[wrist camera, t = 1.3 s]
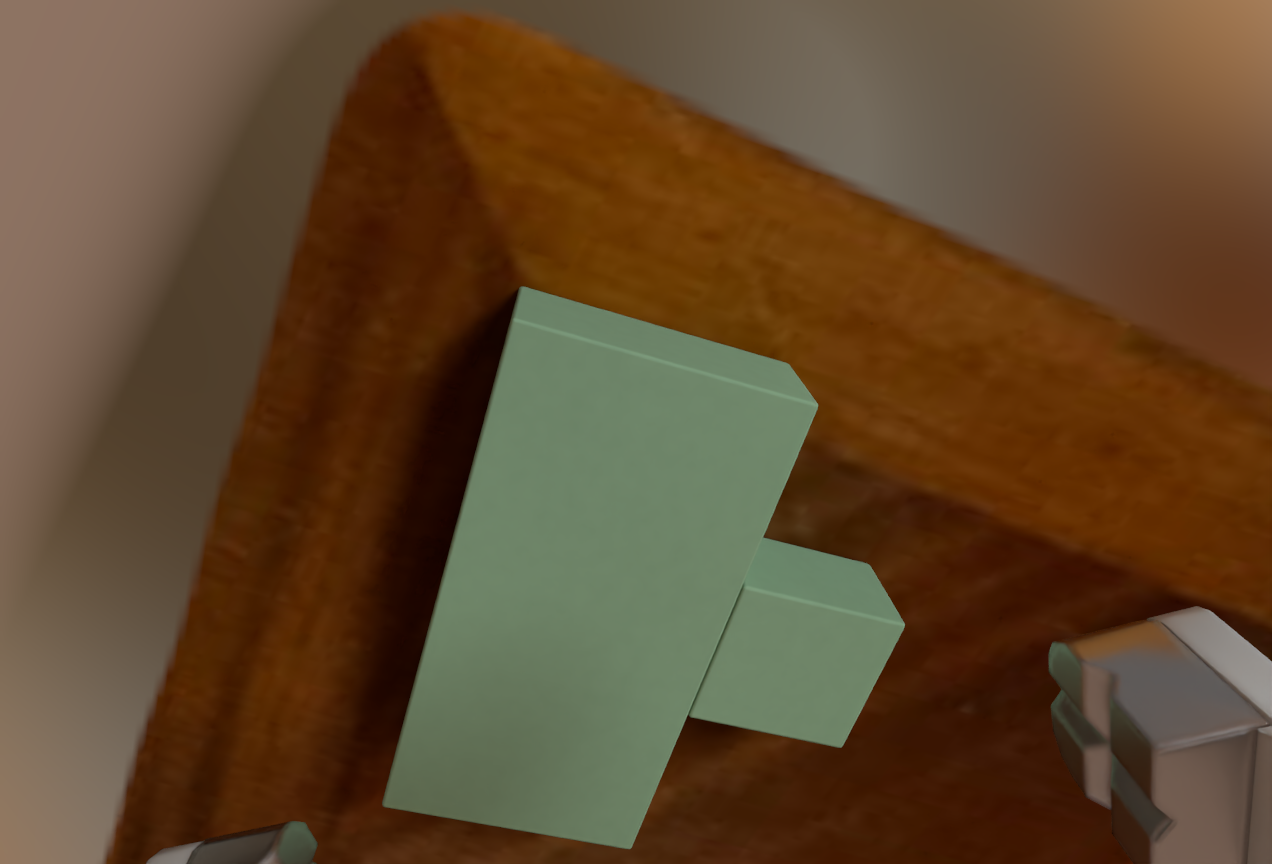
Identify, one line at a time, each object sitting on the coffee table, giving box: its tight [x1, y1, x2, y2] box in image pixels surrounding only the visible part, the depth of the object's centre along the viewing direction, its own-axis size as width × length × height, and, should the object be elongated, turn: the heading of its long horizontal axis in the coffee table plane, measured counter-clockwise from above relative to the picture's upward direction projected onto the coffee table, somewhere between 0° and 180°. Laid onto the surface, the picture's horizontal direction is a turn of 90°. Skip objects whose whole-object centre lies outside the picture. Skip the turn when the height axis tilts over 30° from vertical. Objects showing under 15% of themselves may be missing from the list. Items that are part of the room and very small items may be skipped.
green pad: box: [382, 287, 905, 849], centre depth 19 cm, size 12×10×2 cm
